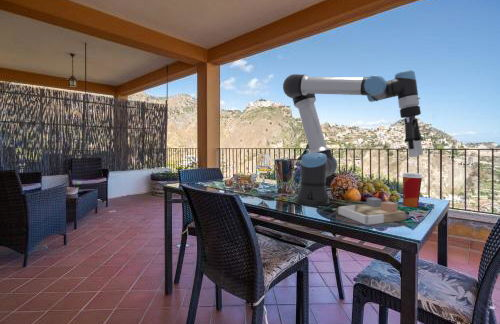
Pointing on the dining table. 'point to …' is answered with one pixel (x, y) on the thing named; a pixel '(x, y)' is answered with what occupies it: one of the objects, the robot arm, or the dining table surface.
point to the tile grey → (373, 202)
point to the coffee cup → (411, 189)
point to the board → (377, 210)
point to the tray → (360, 215)
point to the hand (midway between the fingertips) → (416, 156)
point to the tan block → (389, 206)
